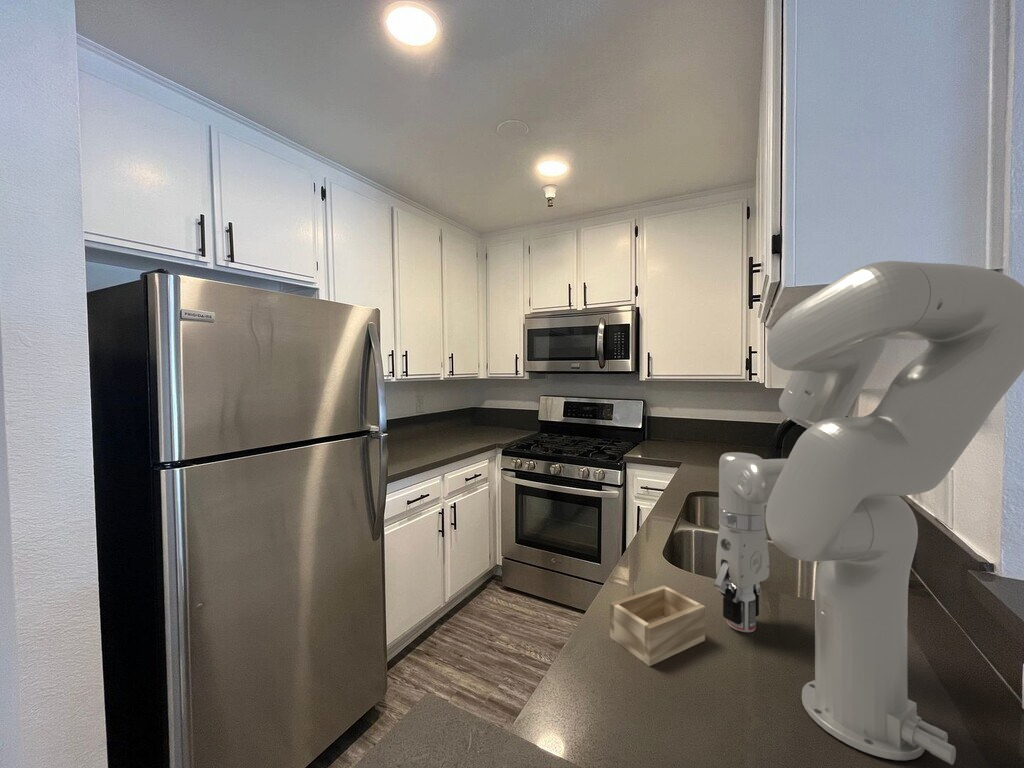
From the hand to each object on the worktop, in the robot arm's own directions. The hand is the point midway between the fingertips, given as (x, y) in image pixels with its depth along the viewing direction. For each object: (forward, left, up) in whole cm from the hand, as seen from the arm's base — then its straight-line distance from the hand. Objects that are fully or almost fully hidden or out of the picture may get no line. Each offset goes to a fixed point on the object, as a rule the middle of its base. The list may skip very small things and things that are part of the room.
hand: (741, 615), depth 78 cm
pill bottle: (0, 0, -2) cm, 2 cm away
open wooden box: (+5, +17, -2) cm, 18 cm away
